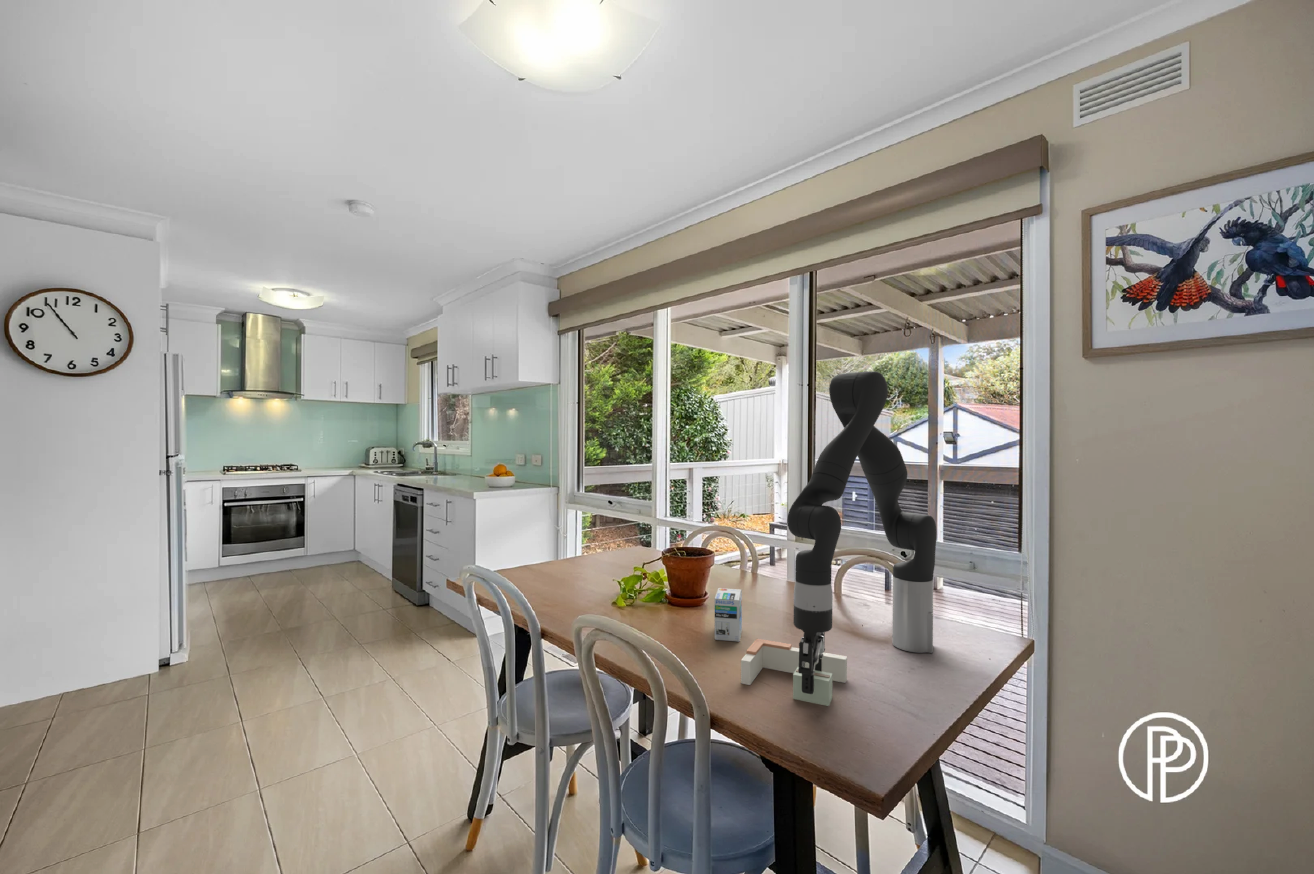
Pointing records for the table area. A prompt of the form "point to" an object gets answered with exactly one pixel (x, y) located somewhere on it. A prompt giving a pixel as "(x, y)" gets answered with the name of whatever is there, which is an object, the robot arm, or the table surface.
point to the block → (821, 688)
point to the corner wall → (785, 661)
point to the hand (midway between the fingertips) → (812, 684)
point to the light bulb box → (728, 614)
